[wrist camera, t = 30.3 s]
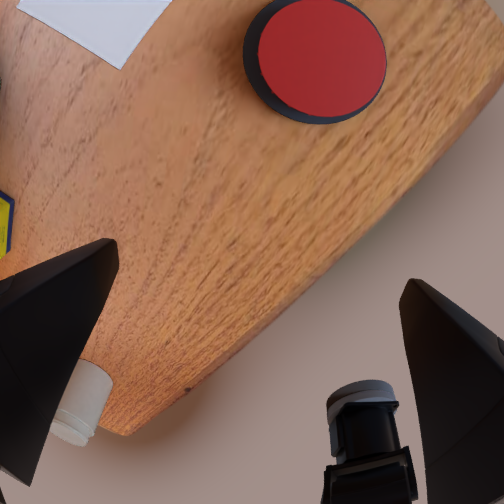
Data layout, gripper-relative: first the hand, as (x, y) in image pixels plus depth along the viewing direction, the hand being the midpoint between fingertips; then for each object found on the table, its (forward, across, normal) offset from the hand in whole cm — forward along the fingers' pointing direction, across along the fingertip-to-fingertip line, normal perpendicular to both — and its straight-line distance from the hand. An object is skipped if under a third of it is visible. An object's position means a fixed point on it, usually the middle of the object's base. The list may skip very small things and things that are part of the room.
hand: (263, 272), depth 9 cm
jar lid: (+9, -2, -7) cm, 11 cm away
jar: (+11, +17, +25) cm, 33 cm away
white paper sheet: (+11, +11, -14) cm, 21 cm away
